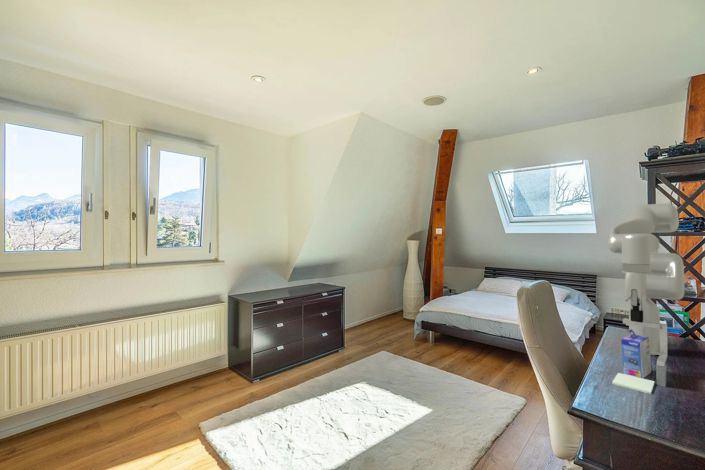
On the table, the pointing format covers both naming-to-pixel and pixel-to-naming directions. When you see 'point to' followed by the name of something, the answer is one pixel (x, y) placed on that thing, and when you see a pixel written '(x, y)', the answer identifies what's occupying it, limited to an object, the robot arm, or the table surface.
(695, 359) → the table surface
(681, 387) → the table surface
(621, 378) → the felt pad
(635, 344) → the ink cartridge box
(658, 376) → the rail block
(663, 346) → the grey angled frame
